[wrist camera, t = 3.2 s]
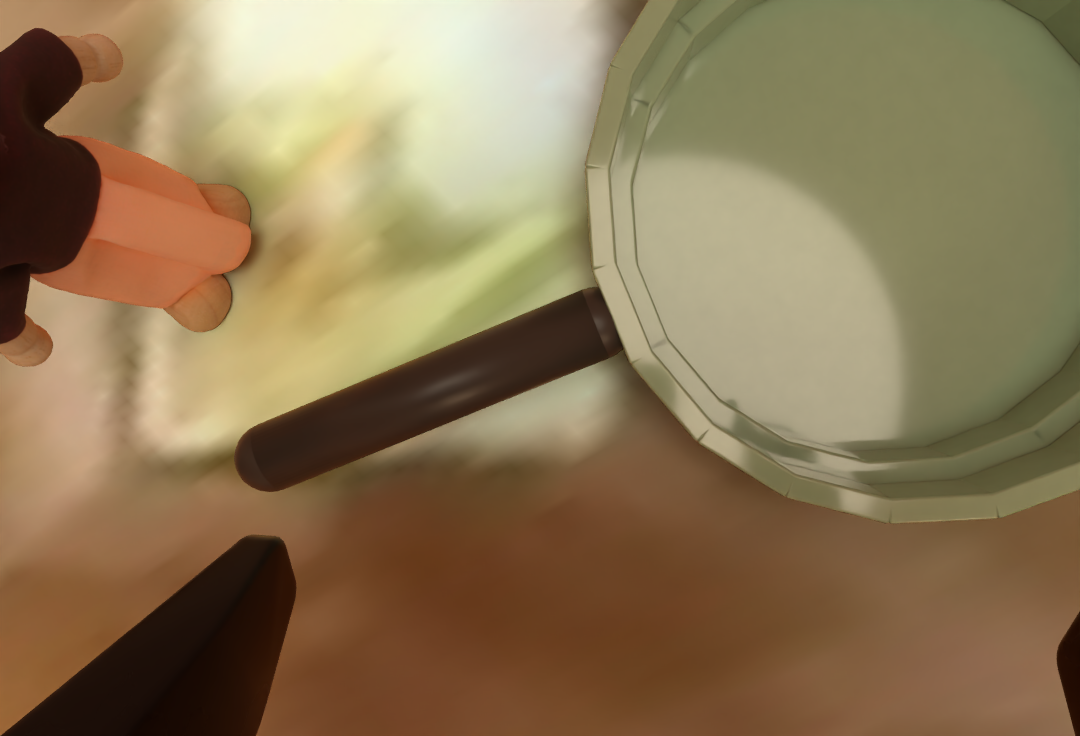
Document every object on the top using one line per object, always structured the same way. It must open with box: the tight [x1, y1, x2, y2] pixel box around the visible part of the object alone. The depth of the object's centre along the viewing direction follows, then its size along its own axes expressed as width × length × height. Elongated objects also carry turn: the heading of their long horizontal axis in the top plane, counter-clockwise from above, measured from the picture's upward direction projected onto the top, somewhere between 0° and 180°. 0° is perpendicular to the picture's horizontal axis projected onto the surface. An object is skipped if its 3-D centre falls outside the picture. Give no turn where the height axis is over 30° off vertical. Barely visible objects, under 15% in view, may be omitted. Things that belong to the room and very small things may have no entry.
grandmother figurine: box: [0, 28, 251, 367], centre depth 17 cm, size 8×4×13 cm, turn 174°
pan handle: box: [234, 287, 623, 492], centre depth 20 cm, size 11×2×2 cm, turn 112°
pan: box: [585, 0, 1080, 524], centre depth 20 cm, size 15×15×4 cm
